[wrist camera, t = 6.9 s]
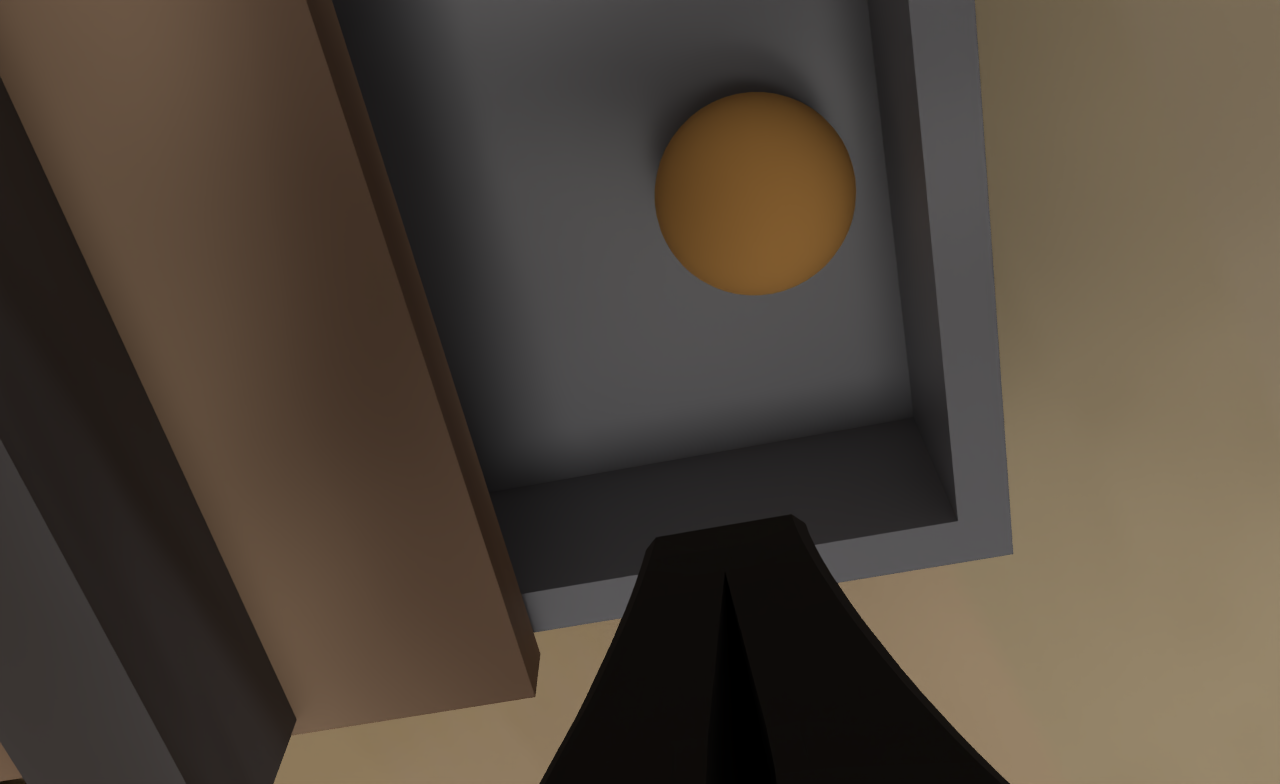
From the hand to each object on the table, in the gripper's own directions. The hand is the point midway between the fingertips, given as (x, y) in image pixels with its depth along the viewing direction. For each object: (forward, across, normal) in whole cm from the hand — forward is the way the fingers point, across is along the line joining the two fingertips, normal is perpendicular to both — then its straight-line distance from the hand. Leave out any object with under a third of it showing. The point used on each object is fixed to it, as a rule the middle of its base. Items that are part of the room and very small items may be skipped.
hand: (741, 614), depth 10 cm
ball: (+8, -1, -1) cm, 9 cm away
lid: (+6, +10, -1) cm, 12 cm away
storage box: (+10, +2, -1) cm, 11 cm away
